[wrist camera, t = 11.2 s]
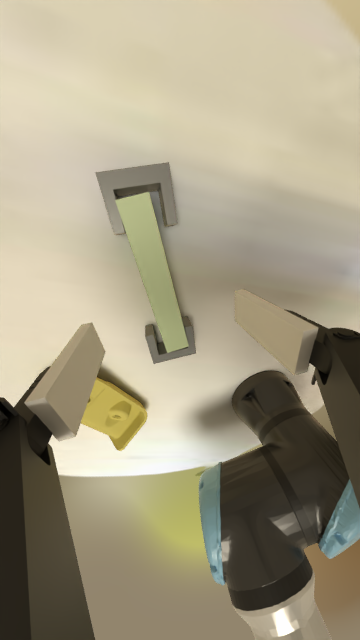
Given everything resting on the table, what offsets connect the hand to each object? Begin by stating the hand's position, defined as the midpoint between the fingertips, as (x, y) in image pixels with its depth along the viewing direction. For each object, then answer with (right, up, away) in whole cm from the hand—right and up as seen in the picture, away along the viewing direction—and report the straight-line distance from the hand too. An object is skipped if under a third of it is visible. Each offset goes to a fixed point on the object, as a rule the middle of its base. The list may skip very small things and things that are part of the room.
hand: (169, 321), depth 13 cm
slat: (-3, +6, +13) cm, 14 cm away
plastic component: (-15, -15, +20) cm, 29 cm away
